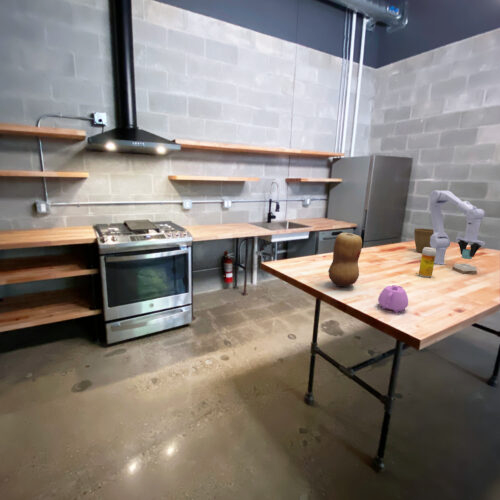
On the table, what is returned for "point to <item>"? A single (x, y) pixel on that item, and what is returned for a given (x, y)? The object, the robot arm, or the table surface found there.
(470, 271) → the walnut slab
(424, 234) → the plant pot
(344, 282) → the butternut squash
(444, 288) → the table surface
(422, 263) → the glass of beer
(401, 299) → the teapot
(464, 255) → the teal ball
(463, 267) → the off-white slab
